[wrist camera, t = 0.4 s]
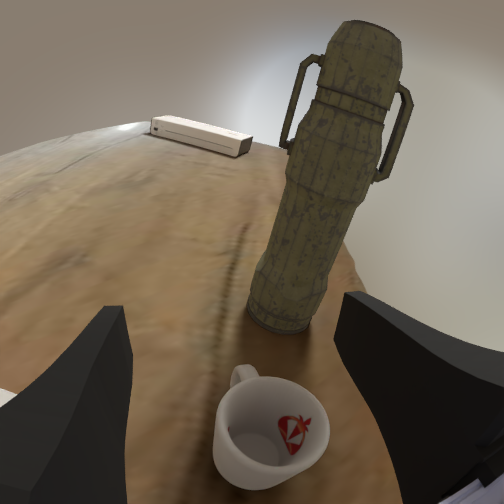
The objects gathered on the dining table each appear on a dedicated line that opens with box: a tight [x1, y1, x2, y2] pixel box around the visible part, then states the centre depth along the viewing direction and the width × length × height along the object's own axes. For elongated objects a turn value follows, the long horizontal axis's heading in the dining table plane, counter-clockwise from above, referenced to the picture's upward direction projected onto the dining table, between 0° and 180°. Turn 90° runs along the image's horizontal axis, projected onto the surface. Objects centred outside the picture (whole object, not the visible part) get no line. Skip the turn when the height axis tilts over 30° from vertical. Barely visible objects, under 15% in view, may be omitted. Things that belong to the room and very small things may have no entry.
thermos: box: [247, 20, 414, 334], centre depth 32 cm, size 9×12×35 cm
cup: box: [213, 364, 330, 490], centre depth 22 cm, size 11×8×8 cm
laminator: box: [150, 115, 253, 157], centre depth 103 cm, size 34×12×6 cm, turn 72°
